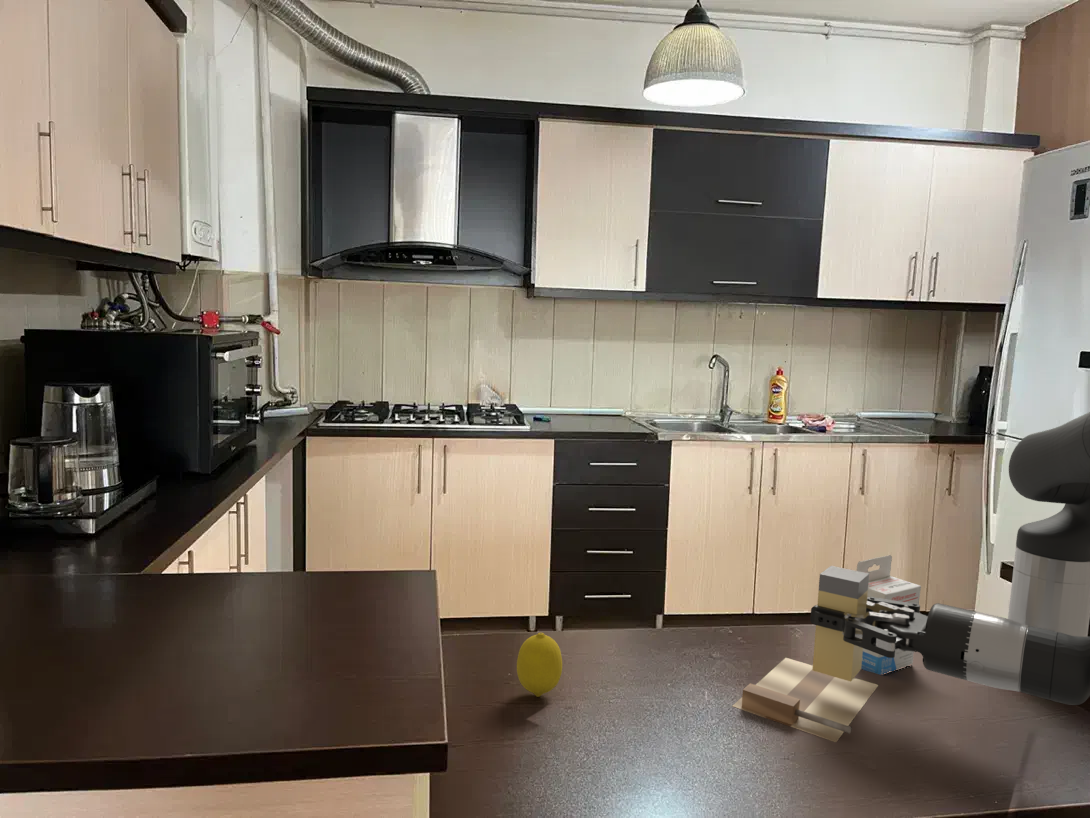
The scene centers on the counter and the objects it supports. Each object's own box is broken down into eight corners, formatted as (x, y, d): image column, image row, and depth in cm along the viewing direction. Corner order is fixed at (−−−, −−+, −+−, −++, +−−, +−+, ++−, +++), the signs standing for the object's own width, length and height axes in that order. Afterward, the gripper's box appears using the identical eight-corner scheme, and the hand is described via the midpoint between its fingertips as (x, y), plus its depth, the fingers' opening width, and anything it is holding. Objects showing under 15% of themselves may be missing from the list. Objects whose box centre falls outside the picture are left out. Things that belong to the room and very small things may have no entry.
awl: (748, 700, 92) (750, 683, 92) (852, 735, 85) (854, 717, 85) (741, 707, 90) (742, 689, 90) (846, 743, 83) (848, 724, 83)
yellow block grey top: (823, 658, 97) (831, 565, 95) (861, 669, 94) (869, 573, 93) (812, 670, 93) (819, 574, 92) (851, 681, 90) (859, 582, 89)
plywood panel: (785, 666, 105) (785, 657, 105) (877, 693, 98) (878, 685, 98) (731, 715, 91) (732, 705, 91) (835, 752, 84) (836, 742, 84)
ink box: (878, 679, 102) (888, 571, 101) (845, 664, 107) (854, 561, 105) (914, 666, 107) (924, 563, 106) (881, 652, 111) (890, 553, 110)
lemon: (567, 692, 95) (570, 629, 94) (549, 711, 90) (552, 646, 89) (527, 681, 97) (530, 620, 96) (507, 700, 92) (509, 636, 91)
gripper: (988, 596, 90) (837, 565, 100) (968, 632, 78) (801, 593, 88) (981, 658, 90) (833, 621, 101) (961, 703, 79) (796, 656, 89)
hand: (818, 608), depth 94 cm, fingers closed on yellow block grey top, 4 cm apart
